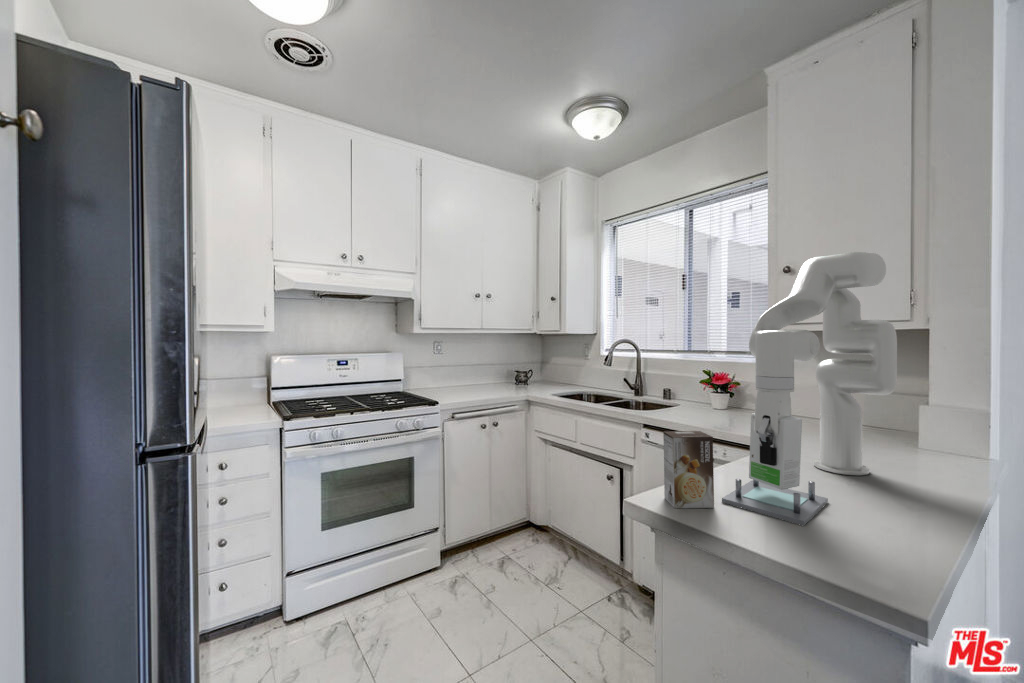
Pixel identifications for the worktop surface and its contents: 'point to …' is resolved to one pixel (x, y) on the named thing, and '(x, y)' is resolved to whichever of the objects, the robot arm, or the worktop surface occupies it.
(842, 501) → the worktop surface
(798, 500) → the guide pins
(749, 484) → the grey base plate
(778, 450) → the skincare box
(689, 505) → the coffee box
